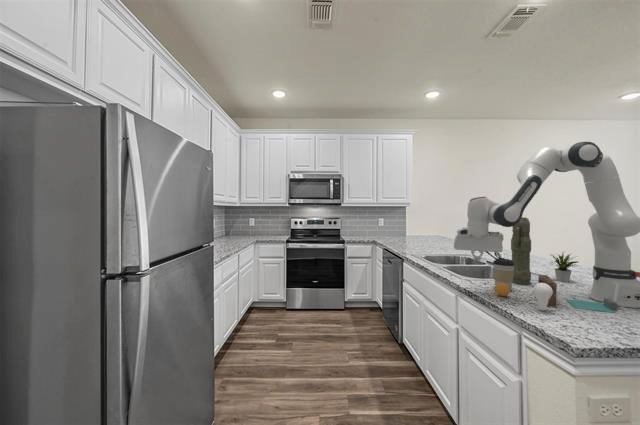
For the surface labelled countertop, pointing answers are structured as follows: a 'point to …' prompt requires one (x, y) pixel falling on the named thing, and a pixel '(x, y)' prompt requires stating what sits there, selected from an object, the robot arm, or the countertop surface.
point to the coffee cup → (503, 271)
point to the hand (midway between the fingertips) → (477, 260)
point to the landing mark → (589, 305)
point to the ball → (502, 289)
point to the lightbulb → (542, 294)
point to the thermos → (521, 252)
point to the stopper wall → (610, 304)
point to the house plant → (563, 268)
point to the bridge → (553, 285)
